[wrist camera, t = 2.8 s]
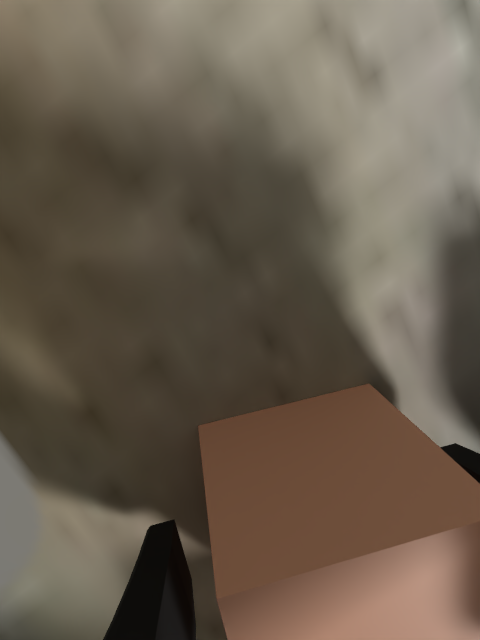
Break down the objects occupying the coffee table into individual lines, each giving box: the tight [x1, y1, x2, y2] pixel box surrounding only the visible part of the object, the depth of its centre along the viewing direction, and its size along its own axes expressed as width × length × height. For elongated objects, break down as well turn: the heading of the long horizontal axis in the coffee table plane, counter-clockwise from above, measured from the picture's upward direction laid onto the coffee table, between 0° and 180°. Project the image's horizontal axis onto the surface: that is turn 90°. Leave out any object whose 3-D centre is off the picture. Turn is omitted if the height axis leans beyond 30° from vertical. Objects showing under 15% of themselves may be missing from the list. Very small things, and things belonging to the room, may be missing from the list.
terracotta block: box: [198, 384, 480, 640], centre depth 9 cm, size 5×5×5 cm
